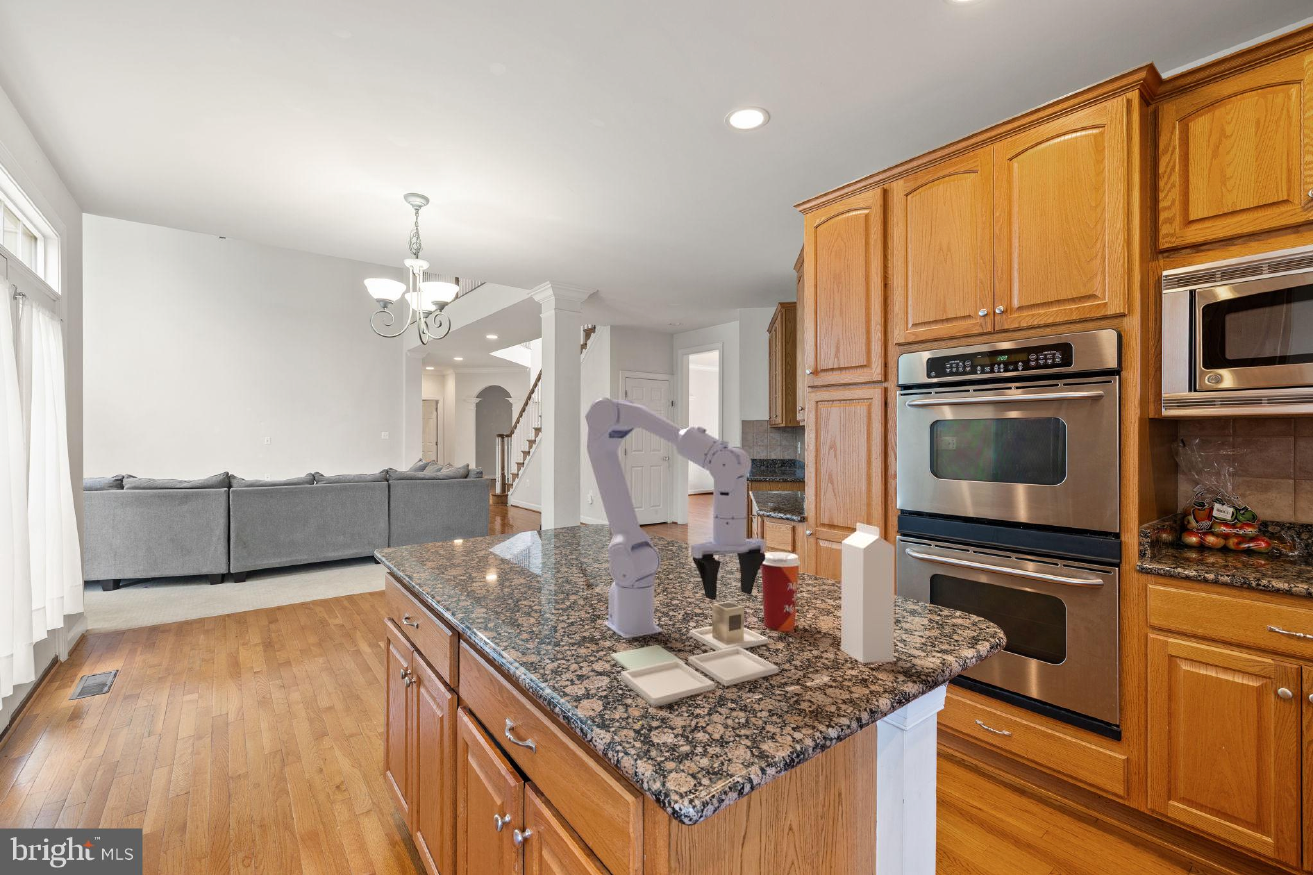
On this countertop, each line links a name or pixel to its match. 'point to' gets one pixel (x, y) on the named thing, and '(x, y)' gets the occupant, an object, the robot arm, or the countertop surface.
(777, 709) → the countertop surface
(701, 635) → the dish
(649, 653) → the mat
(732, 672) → the dish
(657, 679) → the dish
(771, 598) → the paper cup
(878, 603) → the milk
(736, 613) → the letter block
